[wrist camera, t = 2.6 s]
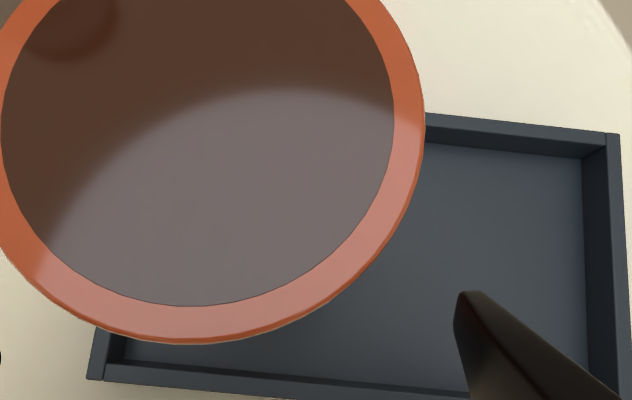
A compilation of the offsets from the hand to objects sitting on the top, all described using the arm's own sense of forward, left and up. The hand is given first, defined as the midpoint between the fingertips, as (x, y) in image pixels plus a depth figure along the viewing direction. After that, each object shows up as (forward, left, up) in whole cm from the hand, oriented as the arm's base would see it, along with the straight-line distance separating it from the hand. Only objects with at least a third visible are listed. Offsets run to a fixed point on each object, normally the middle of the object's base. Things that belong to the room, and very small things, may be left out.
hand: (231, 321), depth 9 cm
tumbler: (+2, +2, -10) cm, 10 cm away
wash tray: (+5, -2, -10) cm, 12 cm away
